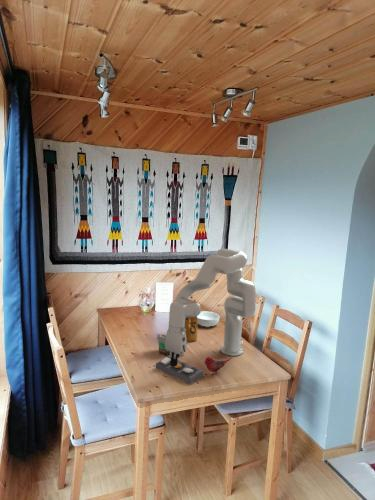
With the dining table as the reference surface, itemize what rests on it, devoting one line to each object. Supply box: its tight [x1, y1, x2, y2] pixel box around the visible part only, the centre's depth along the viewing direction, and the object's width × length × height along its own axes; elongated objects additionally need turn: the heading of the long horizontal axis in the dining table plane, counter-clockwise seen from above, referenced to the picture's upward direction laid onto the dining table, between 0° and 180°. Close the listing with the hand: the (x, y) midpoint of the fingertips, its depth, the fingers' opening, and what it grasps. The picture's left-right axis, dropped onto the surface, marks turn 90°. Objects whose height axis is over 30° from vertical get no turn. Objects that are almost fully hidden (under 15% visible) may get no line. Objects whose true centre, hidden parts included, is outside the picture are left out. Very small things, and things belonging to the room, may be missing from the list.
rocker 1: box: [160, 356, 171, 365], centre depth 184 cm, size 4×3×1 cm
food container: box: [156, 332, 170, 357], centre depth 201 cm, size 12×6×10 cm, turn 68°
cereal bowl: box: [197, 310, 221, 328], centre depth 249 cm, size 17×17×7 cm
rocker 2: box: [183, 368, 194, 373], centre depth 175 cm, size 4×3×1 cm
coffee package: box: [184, 316, 199, 344], centre depth 223 cm, size 10×12×22 cm
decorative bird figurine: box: [203, 356, 232, 376], centre depth 182 cm, size 3×18×10 cm, turn 125°
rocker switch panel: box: [155, 356, 204, 385], centre depth 181 cm, size 10×22×4 cm, turn 51°
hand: (173, 365), depth 178 cm, fingers closed
